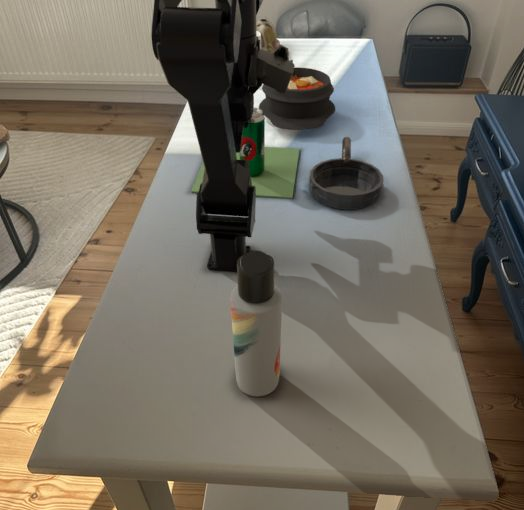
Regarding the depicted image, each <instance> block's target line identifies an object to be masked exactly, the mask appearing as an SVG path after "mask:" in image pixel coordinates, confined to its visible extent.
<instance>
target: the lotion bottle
mask: <svg viewBox="0 0 524 510" xmlns="http://www.w3.org/2000/svg"><path fill="white" fill-rule="evenodd" d="M236 273H237V285H236V286H234V288H233V290H232V291H231V293H230V315H231V316H230V317H231V328H232V341H233V354H234V355H233V357H234V368H235V369H234V370H235V380H236V384H237V386H238V388H239V390H240V391H241V392H243V393H244V394H246V395H248V396H252V397H264V396H267V395H270V394H271V393H273V392H274V391H275V390H276V388H277V387H278V384H279V381H280V373H281V372H280V371H281V368H280V367H281V341H282V315H283V313H282V312H283V296H282V291H281V290H280V288H279V287H278V286H277V285H276V284H275V259H274V258H273V257H272V256H271V255H269V254H267V253H266V252H264V251H261V250H251V251H250V252H247V253H245V254H244V255H243V256H241V257H239V258H238V260H237V271H236Z"/></svg>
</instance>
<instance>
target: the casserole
mask: <svg viewBox="0 0 524 510" xmlns="http://www.w3.org/2000/svg"><path fill="white" fill-rule="evenodd" d="M261 90H262V92H263V93H264V95H265V98H264V99H262V100H261V102H260V103H258V104H259V105H258V108H259V109H261V110H262V112H263V115H264V117H265V118H267V119H268V120H269V121H270V123H271V124H272V126H274V127H276V128H278V129H283V130H289V131H309V130H315V129H319V128H321V127H323V126H325V124H326V122H327V120H328V119H329V118H331V116H333V115H334V114H335V112H336V106H335V104H334V102H333V101H332V100H331V96H332V95H333V93H334V92H335V88H334V86H333V84H332V81H331V77H330V76H329V75H328V74H327V73H325V72H323V71H321V70H319V69H315V68H309V67H294V71H293V74H292V77H291V80H290V82H289V85H288V88H287V90H286V93H279V92H277V91H276V89H273V88H271V87H269V86H266V85H264V84H262V86H261Z"/></svg>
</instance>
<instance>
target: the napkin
mask: <svg viewBox="0 0 524 510" xmlns="http://www.w3.org/2000/svg"><path fill="white" fill-rule="evenodd" d="M300 150H301V149H300V148H289V147H275V146H274V147H271V146H265V169H264V171H263V173H262V174H260V175H258V176H254V177H251V181H252V186H255V187H256V197H258V198H259V197H260V198H274V199H276V198H277V199H293V197H294V189H295V185H296V177H297V171H298V163H299V157H300V156H299V155H300ZM236 157H237V160H240V155H239V153H236ZM204 170H205V166H204V163H203V162H202V163H201V166H200V169H199V171H198V173H197V175H196V179H195V181H194V183H193V185H192V188H191V190H190V192H191V193H196V194H197V192H198V191H199V188H200V184H201V183H202V182H203V176H204Z"/></svg>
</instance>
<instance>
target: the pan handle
mask: <svg viewBox="0 0 524 510" xmlns="http://www.w3.org/2000/svg"><path fill="white" fill-rule="evenodd" d="M341 158H343V159H345V160H344V161H343V164H344V165H345V166H347V165H349V163H350V162H349V159H352V140H351V138H350V137H349V136H345V137H343V138H342V143H341Z"/></svg>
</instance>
